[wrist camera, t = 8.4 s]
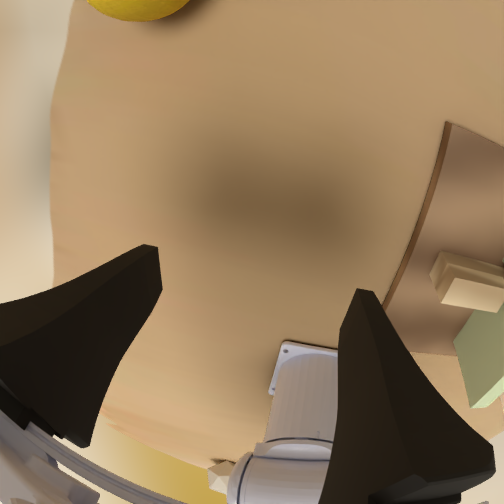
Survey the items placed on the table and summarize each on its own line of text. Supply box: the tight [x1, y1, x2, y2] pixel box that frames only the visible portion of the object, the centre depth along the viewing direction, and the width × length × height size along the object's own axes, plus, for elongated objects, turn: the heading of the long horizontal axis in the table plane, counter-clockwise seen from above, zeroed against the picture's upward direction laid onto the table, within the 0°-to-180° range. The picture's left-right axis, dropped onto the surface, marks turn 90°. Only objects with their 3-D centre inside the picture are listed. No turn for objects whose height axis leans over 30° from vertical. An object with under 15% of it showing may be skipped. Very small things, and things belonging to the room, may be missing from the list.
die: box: [207, 461, 235, 495], centre depth 49 cm, size 8×9×10 cm
